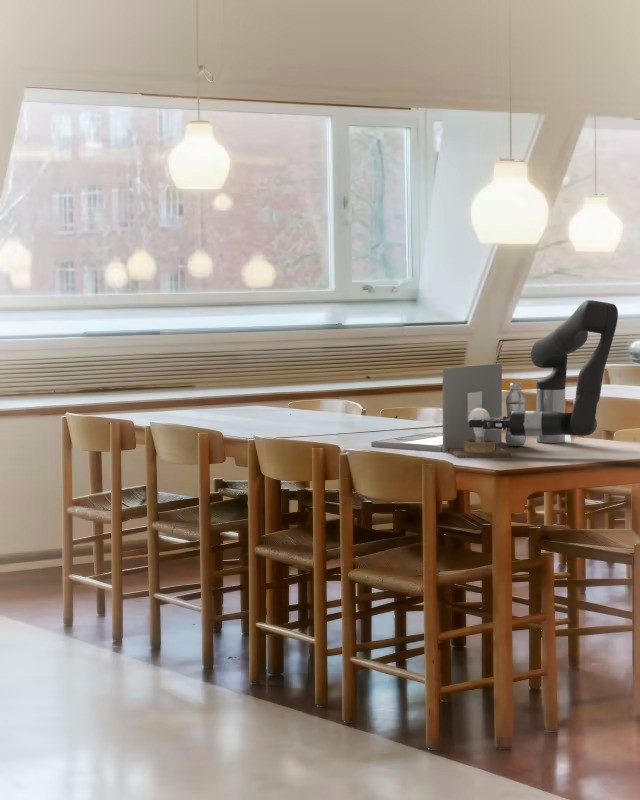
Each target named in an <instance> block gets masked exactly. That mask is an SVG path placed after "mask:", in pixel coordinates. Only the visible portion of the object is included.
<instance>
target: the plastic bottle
mask: <svg viewBox="0 0 640 800" xmlns="http://www.w3.org/2000/svg"><path fill="white" fill-rule="evenodd" d="M522 386H523V385H522V383H521V382H510V384H509V389H510V391H509V393H508V394H507V396H506V398H505V404H506V405H505V406H506V407H505V408H506V417H509V418H510V415H511V412H512V411H514V410H517V411H526V405H527V399H526V396H525V394H524V393H523V391H522V389H523V387H522ZM526 441H527V436H513V435H511V432H510V428H506V432H505V443H506V445H507V446H509V447H513V446H515V448H517V447H516V446H518V447H523V446H524V445H525V444H526Z"/></svg>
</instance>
